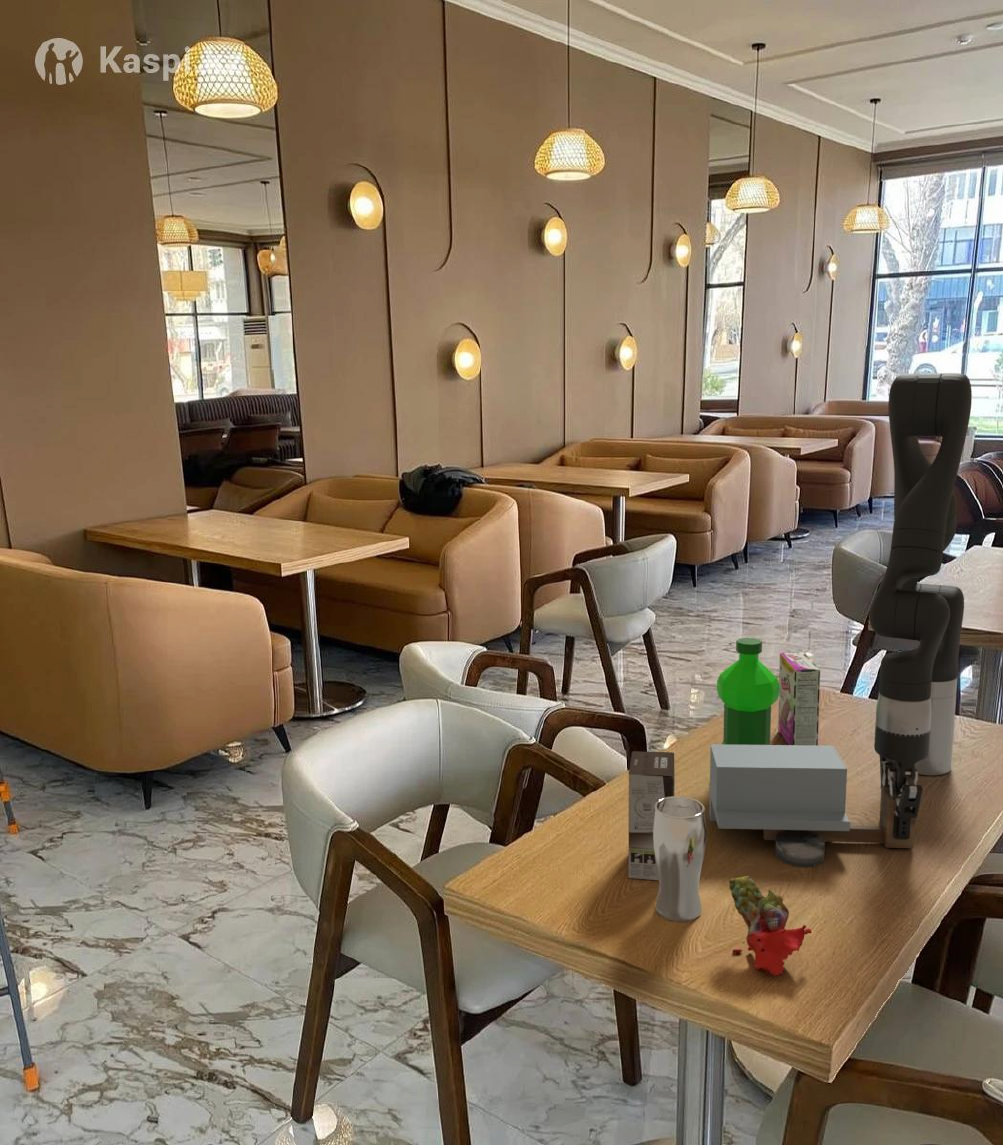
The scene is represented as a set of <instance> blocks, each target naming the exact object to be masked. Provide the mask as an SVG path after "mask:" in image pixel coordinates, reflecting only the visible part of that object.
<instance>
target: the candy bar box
mask: <svg viewBox="0 0 1003 1145" xmlns="http://www.w3.org/2000/svg"><path fill="white" fill-rule="evenodd" d="M778 676H779V678H778V682H779V685H780V690H779V696H778V724H777V725H778V726H777V730H778V733H779V734H780V735H781V737H782V738H783V739H784V741H785V742H786V743H787V744H786V745H815V746H819V721H820V720H819V719H820V718H819V714H820V712H819V711H820V692H821V691H820V685H821V684H820V683H821V680H820V679H821V669H820V668H819V667H818V666H817V665H816V664H815V663H814V662H813V661H812V660H811V659H810V657H808V655H807V654H806V653H805V652H803V651H802V652H801V651H800V652H799V651H797V652H795V651H793V652H792V651H791V652H787V651H786V652H780V653H779V675H778Z"/></svg>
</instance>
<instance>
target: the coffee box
mask: <svg viewBox="0 0 1003 1145" xmlns="http://www.w3.org/2000/svg"><path fill="white" fill-rule="evenodd" d="M675 780H676V779H675V753H674V752H672V751H671V752H670V751H636V750H635V751H634V750H633V751H632V752H631V756H630V762H629V767H628V867H627V868H628V879H629V878H630V879H637V880H638V879H640V880H650V881H659V878H658V871H657V866H656V861H655V855H654V848H653V820H654V810H655V807H654V806H655V803H656V802H657V801H658V800H660V799H662V798H665V797H671V796H675V782H676V781H675Z"/></svg>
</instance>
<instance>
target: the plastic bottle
mask: <svg viewBox="0 0 1003 1145" xmlns="http://www.w3.org/2000/svg"><path fill="white" fill-rule="evenodd" d="M735 650H736V652H737V653H738V660H737V661H735V662H734V663H732V664H731V665H730V666H728V667H727V668H725V670H723V671H722V672H721V673H720V674H719V675H718V678H717V681H716V691H717V694H718V695H717V696H718V698H719V699H720V700H721V701H722V702H723V741H722V742H721V744H722V745H771V729H772V728H771V725H772V724H771V723H772V722H771V721H772V719H771V718H772V705H773V704H774V703H775V702H777V701H779V690H780V685H779V678H777V676H776V675H775V674H774V673H773V672H772V671H771V670H770V669H769V668H768V667H767V666H766V665H765V664H763V663H762V662H761V661H760V660H759V654H761V653H762V651H763V642H762V640H761V639H759V638H754V637H741V638H738V639H736V642H735Z"/></svg>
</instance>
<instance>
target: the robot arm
mask: <svg viewBox="0 0 1003 1145" xmlns="http://www.w3.org/2000/svg"><path fill="white" fill-rule="evenodd" d="M969 378H970V377H968V376H967V375H966V374H963V373H959V372H958V373H957V372H956V373H955V372H941V373H940V372H936V373H931V372H930V373H929V372H927V373H923V372H922V373H904V374H899V375H898V376H897V377H896V378H894V379H893V381H892V383H891V386H890V387H889V392H888V402H887V403H888V421H889V422H888V423H889V431H890V440H891V451H892V456H893V457H892V458H893V472H894V473H893V475H894V476H893V478H894V480H893V482H894V483H893V484H894V486H893V487H894V489H893V515H894V516H893V519H894V520H893V527H892V535H891V545H890V552H889V557H888V558H889V559H888V561H887V562H888V563H887V566H886V569H885V572H884V575H883V578H882V580H881V583H880V584H879V587H878V590H877V591H876V593H875V596H874V598H873V600H872V603H871V605H870V608H869V614H868V620H869V624H870V627H871V629H872V630H873V632H874V633H876V635H878V636H880V637H884V638H890V639H891V638H892V639H901V640H908V641H919V646H917V647H916V648H915V649H910V650H902V651H901V650H900V651H893V652H889V653H886V654H885V655H884V656H883V657H882V658H881V661H880V665H879V684H878V685H879V686H878V698H877V701H876V710H875V722H874V723H875V725H874V726H875V727H874V728H875V729H874V744H873V747H874V750H875V752H876V754H877V755H878V756H879V757H878V758H879V766H880V767H879V768H880V769H879V770H880V771H879V773H880V775H879V776H880V788H881V786H884V787H890V797H891V798H892V799H893V800H894V824H893V836H894V838H895V839H904V840H907V839H909V837H910V822H911V818H916V819H917V818H918V814H919V811H920V810H919V809H920V805H921V799H922V794H923V790H924V789H923V786H922V785H921V784H917V782H918V780H919V775H923V776H939V775H940V776H941V775H945V774H948V773H950V771H951V769H952V761H953V760H952V759H953V749H954V748H953V746H954V732H955V719H956V717H955V716H956V703H957V686H958V673H959V670H958V669H959V653H960V643H961V636H962V635H961V634H962V627H963V621H964V612H965V596H964V594H963V591H962V589H961V588H960V587H958V586H953V585H943V584H933V583H932V584H931V583H918V582H919V580H920V578H927V577H932V576H934V575H938V573H940V571H941V568H942V562H943V556H944V552H945V551H946V549H947V548H948V547H949V546H950V544H951V543H952V541H953V540H954V537H955V536H956V532H957V512H958V511H957V508H958V507H957V506H958V505H957V501H958V500H957V497H956V494H955V492H954V488H955V483H956V480H957V478H958V473H959V469H960V463H961V461H962V455H963V452H964V447H965V442H966V438H967V433H968V428H969V424H970V417H971V409H972V397H973V395H972V394H973V393H972V385H971V381H970V379H969ZM918 437H940V438H941V441H940V445H939V449H938V451H937V454H936V455H935V458H934V459H933V461H932V462H931V461H930V460H929V459H928V458H927V455H926V454H925V453H924V451H923V449H922V447H921V444H920V441H919V439H918ZM896 792H901V794H896ZM905 807H908V808H905Z"/></svg>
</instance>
